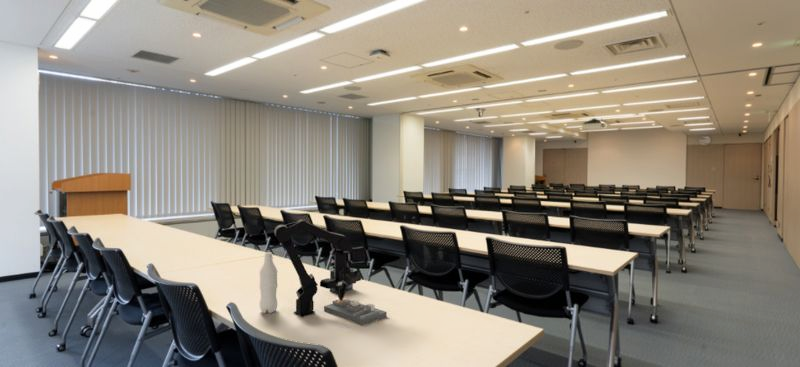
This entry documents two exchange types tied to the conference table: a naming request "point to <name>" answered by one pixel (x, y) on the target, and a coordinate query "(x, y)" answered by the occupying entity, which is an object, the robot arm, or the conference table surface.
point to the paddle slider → (370, 308)
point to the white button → (355, 303)
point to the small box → (339, 280)
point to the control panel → (354, 312)
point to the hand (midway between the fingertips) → (341, 299)
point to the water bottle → (268, 285)
